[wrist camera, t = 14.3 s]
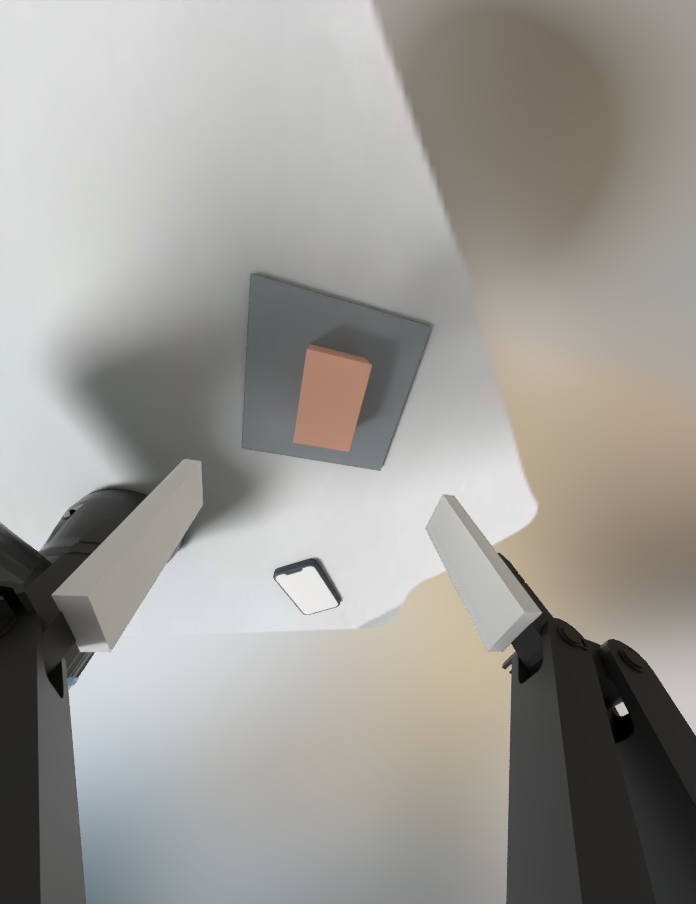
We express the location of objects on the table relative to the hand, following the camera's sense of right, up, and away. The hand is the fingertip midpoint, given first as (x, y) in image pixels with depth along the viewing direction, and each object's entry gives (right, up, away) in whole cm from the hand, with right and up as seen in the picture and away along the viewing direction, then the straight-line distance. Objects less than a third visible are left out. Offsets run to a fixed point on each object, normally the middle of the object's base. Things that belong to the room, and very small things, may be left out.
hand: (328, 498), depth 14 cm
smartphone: (-7, -25, +37) cm, 45 cm away
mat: (-1, +10, +18) cm, 21 cm away
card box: (-1, +10, +17) cm, 20 cm away
